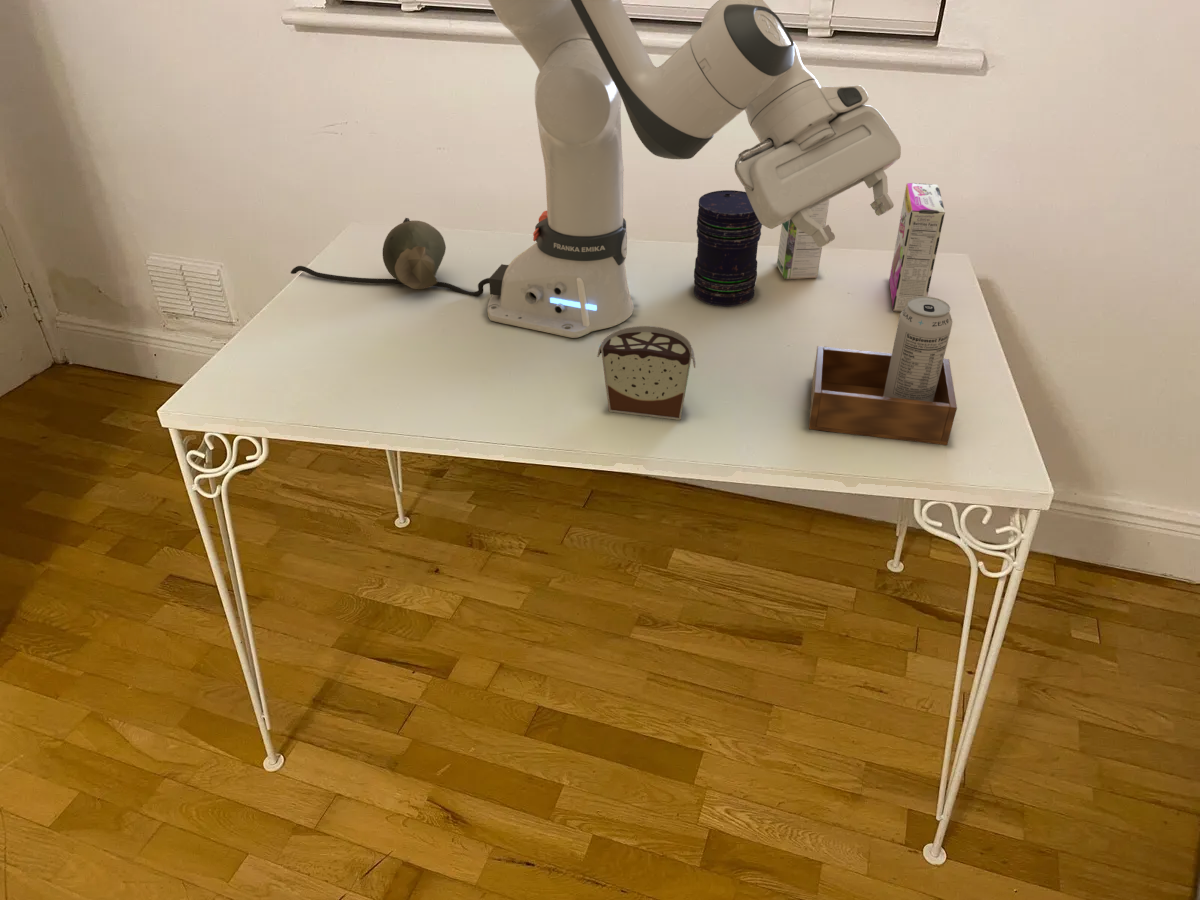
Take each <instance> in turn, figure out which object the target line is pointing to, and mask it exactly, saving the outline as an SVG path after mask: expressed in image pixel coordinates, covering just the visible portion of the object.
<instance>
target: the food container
mask: <svg viewBox="0 0 1200 900" xmlns="http://www.w3.org/2000/svg"><path fill="white" fill-rule="evenodd" d="M600 356H601V360H602V369H603V375H604V383H605V390H606V391H605V392H606V398H607V408H608V412H610V413H616V414H626V415H633V416H634V415H635V416H642V417H651V418H659V419H669V420H676V421H681V419H682V413H683V407H684V402H685V397H686V392H687V391H686V390H687V386H688V379H689V376H690V375H689V374H690V369H691V364H693V368H694V369H696V365H697V363H696V358H695V351H694V349H693V347H692V344H691V342H690V341H689V340H688V338H686V336H684V335H682V334H681V333H679V332H677V331H675V330H672V329H669V328H666V327H661V326H652V325H641V326H640V325H638V326H630V327H629V326H628V327H625V328H621V329H618V330H616V331H613V332H611V333H609V334H607V336H605V337H604V338H603V339H602V341H601V342H600V345H599V347H598V351H597V355H596V358H599V357H600Z"/></svg>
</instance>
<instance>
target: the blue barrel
mask: <svg viewBox="0 0 1200 900" xmlns="http://www.w3.org/2000/svg"><path fill="white" fill-rule="evenodd" d="M696 227H697V228H696V238H697V251H696V253H697V254H696V257H695V261H694V270H693V279H694V280H693V284H694V286H693V294H694V297H695V298H696V299H697V300H699V301H701V302H703V303H705V304H707V305H711V306H716V307H717V306H718V307H738V306H741V305H744V304H747V303H749V302H750V301H752V300H753V299H754V297H755V288H756V282H757V280H758V279H757V278H758V260H757V256H758V245H759V241H760V239H761V235H762V228H763V225H762V224H761V223H760V221H759V220H758V218H757V216H756V214H755V212H754V210H753V208H752V205H751V203H750V201H749V199H748V196H747V194H746V191H743V190H735V189H734V190H731V189H725V190H723V189H722V190H721V189H720V190H714V191H710V192H706V193H704V194H703V195H701V196H700V197H699V199H698V210H697V217H696Z"/></svg>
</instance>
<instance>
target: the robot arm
mask: <svg viewBox="0 0 1200 900" xmlns="http://www.w3.org/2000/svg"><path fill="white" fill-rule="evenodd" d="M487 1H488V3H489V5H490V7H491V8H492V10H493V12H494V13H495V16H496V17H497V19H498V20H499V22H500V23H501V25H503V27H505V29H507V30H508V31H509V32H510V33H511V34H512V35H513V37H514V38H515V39H516V40H517V41H518V42H519V44H520V45H521V46H522V48H523V49H524V50H525V52H526V53H527V54H528V56H529V57H530V58H531V60H532V61H533V63H534V64H535V66H536V68H537V69H538V74H537V77H536V80H535V84H534V105H535V112H536V120H537V128H538V129H537V130H538V135H539V136H538V137H539V142H540V149H541V154H542V158H543V164H544V165H543V166H544V173H545V174H544V175H545V192H546V210H544V211H543V212H542V213H541V215H540V216H539V217H538V223H537V224H536V225H535V228H534V231H533V233H532V237H533V242H535V243H534V244H533V245H531V246H530V247H528V248H527V249H526V250H524V251H522V252H521V253H520V254H518V255H517V256H516V257H515V258H514V259H512V260H511V262H510V263H509V264H505V263H504V264H502V263H501V264H500V265H499V266H498V268H497V269H496V270H495V271H494V272H493V273H492V275H491V276H490V277H487V278H484V279H482V280H480V281H479V283H478V284H477V289H478V290H477V291H468V290H466V289H463V288H461V287H458V286H456V285H454V284H452V283H449V282H445V281H438V280H437V282H438V283H437V284H435V285H433V286H432V287H437V288H443V289H444V288H445V289H448V290H451V291H454V292H456V293H459V294H462V295H467V296H471V297H480V296H482V295H483V294H484V286H485V285H487V284H488V285H489V294H490V295H491V296H490V298H489V300H488V303H487V311H486V313H487V317H488V319H489V320H490V321H492V322H496V323H500V324H504V325H508V326H513V327H519V328H523V329H528V330H533V331H539V332H541V333H542V332H543V333H547V334H553V335H557V336H561V337H566V338H572V339H577V338H581V337H583V336H584V337H585V336H586V335H588V334H591V333H592V332H595V331H600V330H606V329H609V328H613V327H616V326H618V325H620V324H623V323H624V322H626V321H627V320H628V319H629V318H630V317H631V316H632V314H633V313H634V308H635V307H634V303H633V299H632V297H631V293H630V288H629V284H628V278H627V271H626V258H627V254H628V231H627V220H626V219H625V217H624V191H625V190H624V188H625V187H624V186H625V185H624V184H625V183H624V182H625V181H624V178H625V177H624V175H625V174H624V172H625V171H624V170H625V169H624V160H623V143H622V141H623V140H622V117H621V116H622V115H621V113H622V102H623V105H624V108H625V111H626V113H627V116H628V119H629V121H630V123H631V126H632V128H633V130H634V132H635V134H636V136H637V138H638V139H639V140H640V142H641V143H642V145H643V146H644V147H645V148H646V149H647V150H648V151H649V152H650V153H651V154H652V155H654V156H655V157H659V158H663V159H668V160H690V159H693V158H694V157H695V156H696V155H697V154H698V153H699V152H700V151H701V150H702V149H703V148H704V147H705V146H706V145H707V144H708V143H709V142H710V141H711V140H712V139H713V138H714V136H715V134H717V133H718V132H719V131H721V130H722V129H723V128H724V127H725V126H727V125H728V124H729V123H730V122H732V121H733V120H734V119H735V118H736V117H738V116H739V115H740V114H742V112H743V111H745V114H746V118H747V122H748V124H749V126H750V128H751V130H752V132H753V133H754V134H755V136H756V138H757V139H758V141H759V143H756V144H755V145H754V146H752V147H750V148H747V149H744V150H742V151H741V152H740V153H738V155H737V159H736V160H735V162H734V173H735V175H736V176H737V178H738V180H739V182H740V183H741V186H743V187H744V192H746V194H747V196H748V199H749V201H750V203H751V205H752V208H753V210H754V212H755V214H756V216H757V218H758V220H759V221H760V223H761V224H762V226H763V227H766V228H767V229H771V230H772V229H775V228H777V227H779V226H782V224H783V223H784V222H786V221H788V220H790V219H791V220H792V222H793V223H794V225H795V227H796V228H798V229H799V230H801V231H803V232H804V233H806V234H808V235H809V236H812V238H813V239H814V241H815V243H816V244H817V246H818V247H820V248H821V247H822V248H823V247H825V246H827V245H828V244H830V243H832V241H834V240H835V238H836V235H835V234H834V232H833V231H832V228H831V226H830V225H829V224H826V225H825V226H824V227H823V226H821V225H820V224H818V223H817V222H816V221H814V220H813V219H812V218H810V217H811V216H813V213H812V211H811V208H813V207H815V206H817V205H819V204H821V203H823V202H825V201H827V200H829V201H830V199H832V198H834V197H836V196H838V195H840V194H842V193H844V192H846V191H847V190H850V189H851V188H854V187H855V186H857V185H859V184H861V183H863V182H864V184H865V185H866V186H867V188H868V189H871V188H872V192H873V200H874V201H872V202H871V203H870V204H869V206H870V207H871V208H872V210H874V214H875V215H876V216H877V217H879V216H881V215H883V214H886V213H887V212H889V211H891V210H892V209H893V208H894V205H895V204H894V202H893V200H892V199H891V197H890V195H889V189H888V175H887V174H886V172H885V171H886V170H888V169H889V168H890V167H891V166H892V165H894V164H895V163H896V162H897V161H898V160H899V159H900V158H901V155H902V149H901V148H902V147H901V144H900V141H899V140H898V138H897V136H896V134H895V133H894V131H893V130H892V127H890V126H891V125H890V124H889V123H888V122H887V120H886V119H885V117H884V116H883V115H882V114H881V113H880V111H879V110H878V109H877V108H875V107H874V106H872V105H868V104H867V102H868V101H869V94H868V92H867V90H866V88H864V87H863V86H862V85H860V84H859V85H855V84H854V85H842V86H831V85H823V86H821V85H820V83H819V81H818V80H817V78H816V77H815V76H814V75H813V74H812V73H811V72H810V71H809V70H808V69H807V68H806V67H805V65H804V64H803V61H802V58H801V55H800V51H799V48H798V46H797V44H796V43H795V41H794V40H793V38H792V36H791V35H790V33H789V31H788V29H787V28H786V27H785V25H784V23H783V22H782V19H780V17H779V16H778V15H777V14H776V12H774V11H773V10H772V9H771V8H770V7H769V5H768V4H767V3H766V1H764V0H717V1H716V2H715V3H714V4H713V5H712V6H711V7H710V8H709V9H708V10H707V12H706V13H705V15H704V16H703V19H702V20H701V24H700V28H699V29H697V30H696V31H695V32H694V33H693V34H692V36H691V37H690V38H689V39H688V40H687V41H686V42H685V43H683V45H681V46H680V47H679V48H678V49H677V50H676V51H675V52H673V54H672V55H670V56H669V57H668V59H666V60H665V61H664V62H663V63H662V64H661V65H659V66H657V67H656V66H655V65H654V63H653V61H652V60H651V57H650V56H649V54H648V52H647V49H646V48H645V46H644V44H643V42H642V40H641V38H640V36H639V34H638V33H637V31H636V28H635V27H634V24H633V23H632V20H631V18H630V17H629V15H628V13H627V11H626V9H625V6H624V5H623V2H622V0H487ZM822 227H823V228H822ZM299 272H304V273H306V274H308V275H310V276H312V277H316V278H319V279H324V280H331V281H337V282H344V283H345V282H347V283H357V284H379V285H404V284H403V283H401V282H400V281H398V280H397V279H395V278H378V277H377V278H376V277H375V278H373V277H358V276H357V277H356V276H345V275H337V274H330V273H323V272H318V271H315V270H314V269H311V268H309V267H307V266H303V265H296V266H295V267H293V268H292V270H290V274H291V275H295V274H297V273H299Z"/></svg>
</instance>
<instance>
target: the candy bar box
mask: <svg viewBox="0 0 1200 900" xmlns="http://www.w3.org/2000/svg"><path fill="white" fill-rule="evenodd" d="M945 214H946V211H945V206H944V202H943V197H942V194H941V190H940V186H939V184H936V183H935V184H933V183H920V182H919V183H916V182H906V184H905V190H904V194H903V202H902V206H901V212H900V217H899V222H898V223H899V224H898V229H897V234H896V240H895V246H894V251H893V256H892V257H893V258H892V263H891V268H890V273H889V280H888V283H889V290H890V297H891V307H892V311H893V312H895V313H896V312H897V313H901V312H902V311H903V310H904V309H905V308H906V306H907V304H908V301H909V300H910V299H912V298H915V297H928V294H929V289H930V285H931V280H932V275H933V272H934V266H935V261H936V258H937V252H938V248H939V243H940V237H941V234H942V226H943V224H944V219H945V216H946V215H945Z"/></svg>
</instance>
